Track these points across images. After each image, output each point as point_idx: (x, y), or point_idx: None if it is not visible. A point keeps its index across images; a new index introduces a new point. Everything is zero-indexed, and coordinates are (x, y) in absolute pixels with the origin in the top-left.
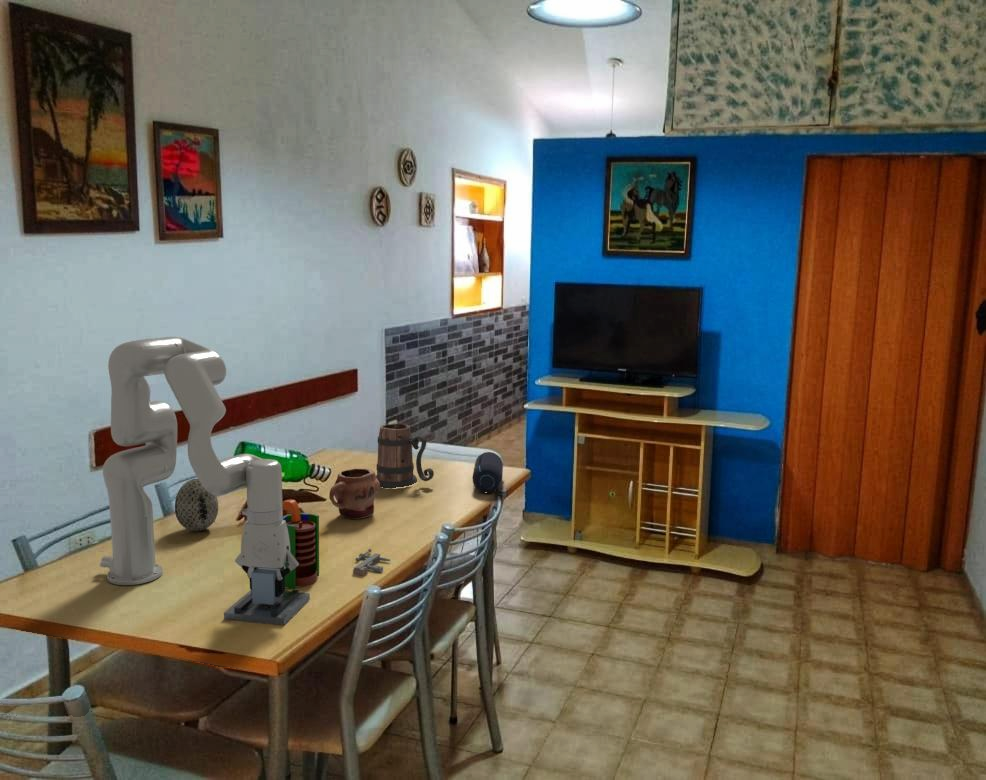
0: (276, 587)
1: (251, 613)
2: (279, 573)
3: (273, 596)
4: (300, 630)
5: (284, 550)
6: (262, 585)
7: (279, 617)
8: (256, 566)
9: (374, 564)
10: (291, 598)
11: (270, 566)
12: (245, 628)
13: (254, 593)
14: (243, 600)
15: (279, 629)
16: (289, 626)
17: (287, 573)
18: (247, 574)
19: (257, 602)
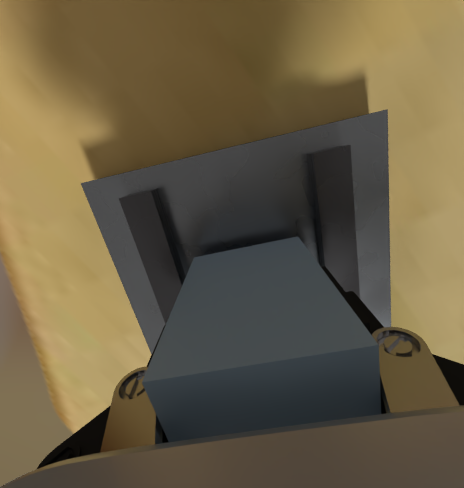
0: None
1: (250, 165)
2: (118, 420)
3: (188, 277)
4: (9, 168)
5: None
6: (247, 294)
7: (107, 184)
8: (336, 431)
9: None
10: None
11: (106, 482)
12: (219, 75)
13: (296, 257)
14: (350, 235)
15: (84, 137)
16: (73, 180)
17: (65, 441)
18: (422, 343)
19: (272, 242)
